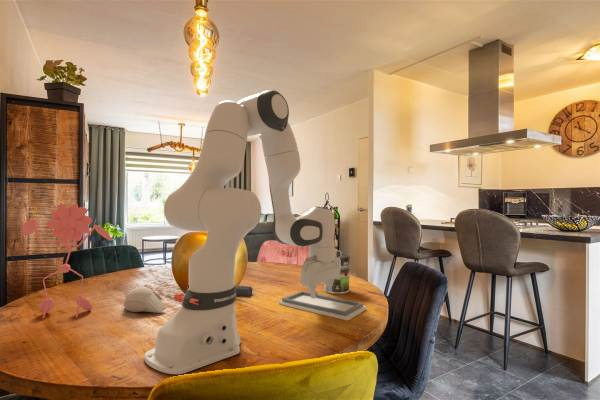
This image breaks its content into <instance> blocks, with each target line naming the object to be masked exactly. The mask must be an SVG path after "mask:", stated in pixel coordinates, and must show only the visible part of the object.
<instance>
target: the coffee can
mask: <svg viewBox="0 0 600 400" xmlns="http://www.w3.org/2000/svg"><path fill="white" fill-rule="evenodd" d="M340 260H341V271H340V275H339V277H336V278H334V282H333V285H332V291H331V292H326V291H325V287H326V286H327V281H326V282H323V284H324V285H323V291H324V292H325V293H328V294H332V295H333V294H334V295H344V294H347V293H349V292H350V255H348V254H345V253H344V254H343V253H341V257H340Z"/></svg>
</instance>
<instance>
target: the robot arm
mask: <svg viewBox="0 0 600 400" xmlns="http://www.w3.org/2000/svg"><path fill="white" fill-rule="evenodd" d="M289 117H290V110H289V105H288V102H287V100H286V98H285V96H283V95H282V94H281V92H279V91H278V90H272V89H271V90H264V91H262V92H261V93H257V94H253V95H250V96H247V97H244V98H242V99H240V100H239V101H232V100H223V101H220V102H218V103H217V104H216V105H215V107H214V108H213V111H212V112H211V115H210V117H209V120H208V123H207V125H206V130H205V134H204V137H203V142H202V145H201V150H200V153H199V157H198V161H197V163H196V165H195V167H194V169H193V171H192V172H191V174H190V175H189V176H188V178H187V179H186V180H185V182H184V183H182V185H181V186H179V188H177V189H176V190H174V191H173V192H171V193H170V194H169V195H168V196H167V198H166V200H165V201H164V206H163V213H164V217H165V220H166V221H167V223H168V224H169V225H170V226H172V227H174V228H177V229H180V230H184V231H188V232H205V233H206V232H207V233H206V235H207V236H206V240H205V242H204V244H203V245H202V247H199V248H198V249H196V250H195V251H193V253H192V254H191V255H190V256H189V260H188V285H189V288H188V287H187V288H188V289H186V291H185V293H180V292H178V291H177V292H175V293H174V295H173V296H172V298H173V301H175V302H178V303H181V307H180V308H179V309H178V310H177V311H176V312H175V313H174V314H173V315H172V316H171V317H170V318H169V319H168V320H167V321H166V322H165V323H164V324H163V325H162V326H161V327H160V328H159V329H158V332H157V335H156V340H155V346H154V347H153V348H151V349H150V350H148V351H145V353H144V362H145V363H146V365H148V366H149V367H150V368H153V369H154V370H156V371H159V372H161V373H163V374H168V375H183V374H186V373H188V372H191V371H194V370H197V369H199V368H202V367H205V366H207V365H211V364H213V363H216V362H218V361H222V360H225V359H228V358H230V357H233V356H235V355H238V354H240V350H241V349H240V344H241V337H240V335H239V334H240V333H239V330H238V323H237V318H236V308H235V305H236V304H235V302H236V301H237V295H236V286H237V285H235V267H236V266H235V265H236V258H237V257H236V256H237V252H238V250H239V247H240V244H241V243H242V241H243V240H244V238H245V237H246V236H247V235H248V234H249V232H251V231H252V230H254V229H255V227H256V226H257V225H258V223H259V221H260V220H261V216H262V206H261V202H260V200H259V198H258V196H257V194H255V193H254V192H253V191H250V190H246V189H241V188H238V187H237V188H236V187H225V186H226V185H227V184H228V182H230V181H231V180H233V179H234V178H236V177H237V176H238V175H239V174H241V172H242V170H243V166H244V160H245V154H246V148H247V142H248V137H251V136H252V137H253V136H256V135H258V137H259V138H260V140H261V145H262V146H261V147H262V152H263V156H264V160H265V165H266V169H267V175H268V184H269V193H270V200H271V204H272V205H271V206H272V213H273V222H272V231H271V232H272V236H273V237H274V239H275V240H276V241H277V242H278V243H280V244H282V245H290V246H294V247H300V248H301V247H307V246H308V257H305V260H304V261H303V264H301V265H302V266H301V270H300V271H301V272H300V284H301V286H302V287H305V288H308V292H309V293H310V297H311V298H313V299H314V298H317V294H318V291H317V292H316V287H317V285H320V284H324V282H326V281H327V286H326V287H325V291H326V292H325V291H324V292H325V293H327V292H331V291H332V285H333V282H334V278H336V277H339V275H340V271H341V260H340V257H341V254H342V251H341V250H338V249H337V248H335V245H336V244H335V238H334V237H335V233H336V232H335V231H336V225H335V216H334V213H333V211H332V209H330V208H327V207H324V206H311V207H310V209H309V210H307V211H306V212H304V213H302V214H301V215H297V216H295V215H294V214H293V212H292V208H291V207H292V206H291V200H290V193H289V189H290V186H291V184H292V182H293V181H294V180H295V179H296V177H297V176H298V175H299V174H300V171H301V157H300V153H299V147H298V144H297V141H296V138H295V135H294V132H293V129H292V127H291V125H290V123H289Z"/></svg>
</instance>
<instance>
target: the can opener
mask: <svg viewBox="0 0 600 400" xmlns="http://www.w3.org/2000/svg"><path fill="white" fill-rule="evenodd" d="M237 286H238V287H237V288H236V296H241V297H249V296H250V295H252V294H253V287H252V286H248V285H237Z"/></svg>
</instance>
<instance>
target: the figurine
mask: <svg viewBox="0 0 600 400" xmlns="http://www.w3.org/2000/svg"><path fill="white" fill-rule="evenodd" d="M87 212H88V209H87V207H85V206H83V207H82V206H80V207H79V205H78V204H77V203H72V204H71V205H69V206H68V207H67V206H66V205H65V204H64V203H60V204H58V206H57V210H53V211H51V218H52V219H51V220H47V222H46V226H47V227H48V228H49V229H50V230H51V229H52V233H51V235H52V236H53V237H55V238H57V237H58V238H60V239H58V240H50V241H48V240H47V241H41V240H40V236H39V232H38V228H39V221H38V220H37V219H36V218H32V219H29V220H27V221H26V222H24V223H23V224H22V226H21V232H22V234H23V236H25V237H26V236H29V235H31V234H33V233H35V234H36V240H37V244H38V245H43V244H45V245H46V244H53V243H59V244H62V245H64V246H66V247H68V248H69V250H68V254H67V256H66V260H65V263H63V264H61V265H60V267H59V270H57V271H55V272H53V273H50V274H49V275H48V276H45V277H43V278H42V283H43V284H42V285H43V289H44V293H45V298H44V299H42V301H41V302H40V304H39V306H38V307H39V311H40V312H42V318H43V319H45V317H46V314H48V313H50V312H51V311H52V310H53V309H54V307H55V300H54V298H51V297H48V293H47V288H46V283H45V279H48V278H49V277H51V276H53V275H55V274H57V273H59V272H61V273H63V274H65V273H69V272H70V271H71V272H73V273H74V274H76V275H77V276H79V277H81V282H80V283H81V285H80V296H79V297H78V296H77V297H76V298H75V303H76V304H77V309H76V314H75V318H78V317H79V313H80V308H81V309H83V310H86V311H89V312H90V311H92V310H93V305H92V303H91V302H90V301H89V300H88V299H86V298H85V297H83V289H84V288H83V283H84V276H83V275H82V274H80V273H78V272H77V271H75V270H74V269H72V268H71V265H70V264H68V261H69V258H70V256H71V253H72V250H73V248H72V246H73V247H77V248H80V246H82V244H83V243H84V242H85V241H86V240H87V238H88V237H89V236H90V235H91V233H92V232H94V230H95V231H96V232H97V233H98V234H99V235H100V236H102V237H103V238H105V239H106V240H109V241H110V242H112V237H111V235H110V234H109V232H108V231H107V230H105V229H104V228H102V227H101V226H99V225H97V224H94V225H93V227H92V228H91V229H90V226H89V224H92V223H93V219H92V218H91V217H90V216H89V215H86V213H87ZM83 234H86V235H85V236H84V237H83ZM72 238H73V240H74V241H77V242H79V243H78V244H76V243H72V242H69V241H70V240H71V239H72Z"/></svg>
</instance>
